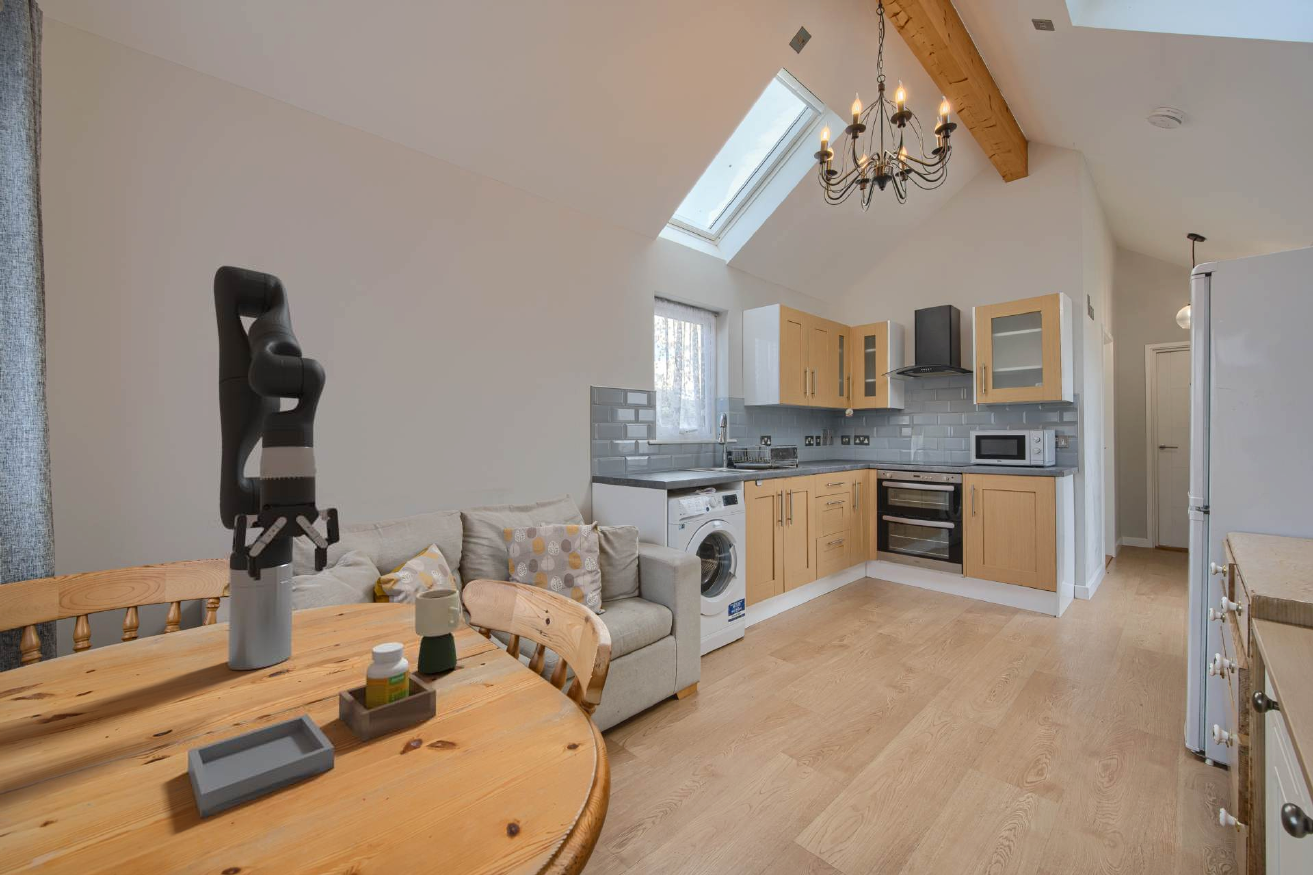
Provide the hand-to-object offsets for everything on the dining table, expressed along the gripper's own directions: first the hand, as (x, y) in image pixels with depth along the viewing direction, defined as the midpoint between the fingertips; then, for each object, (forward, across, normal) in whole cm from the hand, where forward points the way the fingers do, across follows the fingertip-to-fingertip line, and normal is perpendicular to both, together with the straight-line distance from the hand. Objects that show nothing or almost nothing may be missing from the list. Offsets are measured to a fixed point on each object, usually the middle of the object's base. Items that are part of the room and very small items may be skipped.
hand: (288, 575), depth 87 cm
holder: (+19, -7, +22) cm, 30 cm away
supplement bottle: (+19, -7, +22) cm, 30 cm away
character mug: (+18, -19, +11) cm, 29 cm away
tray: (+19, +8, +25) cm, 32 cm away
